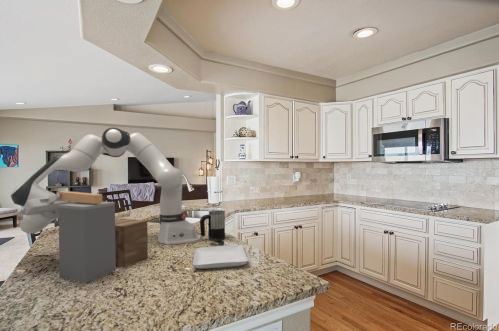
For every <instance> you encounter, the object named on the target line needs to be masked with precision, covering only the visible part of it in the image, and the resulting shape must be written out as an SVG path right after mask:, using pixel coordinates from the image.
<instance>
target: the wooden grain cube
mask: <svg viewBox="0 0 499 331" xmlns="http://www.w3.org/2000/svg"><path fill="white" fill-rule="evenodd" d="M148 243H149V241H148V220H145V219H144V220H143V219H133V218H121V219H115V249H116V265H118V266H117V267H121V266H123V267H122V268H126V267H128V265H129V266H131V265H133V264H135V263H136V264H137V263H138V262H141V261H142V260H143V261H144V260H145V259H148V258H149V254H148V250H149V248H148Z"/></svg>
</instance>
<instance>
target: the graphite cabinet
mask: <svg viewBox="0 0 499 331" xmlns="http://www.w3.org/2000/svg"><path fill="white" fill-rule="evenodd" d="M115 220H116V202H114V201H113V202H112V201H102V203H97V204H92V203H83V202H78V203H71V204H63V205H59V218H58V246H59V247H58V254H59V255H58V263H59V265H58V267H59V269H58V270H59V271H58V273H59V274H58V275H59V278H61V277H62V278H61V279H64V278H67V279H66V280H68V279H71V280H70V281H72V280H75V281H74V282H76V281H79V282H78V283H80V282H83V283H82V284H84V283H86V282H88V283H90V282H92V281H91V280H93V281H95V280H97V279H96V278H98V279H100V278H102V277H104V276H103V275H105V276H107V275H109V274H108V273H110V274H112V273H114V272H116V271H117V268H116V267H117V266H116V249H115ZM115 270H116V271H115ZM113 271H114V272H113ZM111 272H112V273H111ZM106 274H107V275H106ZM101 276H102V277H101ZM99 277H100V278H99ZM94 279H95V280H94ZM89 281H90V282H89ZM86 284H87V283H86Z"/></svg>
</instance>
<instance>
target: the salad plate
mask: <svg viewBox="0 0 499 331" xmlns="http://www.w3.org/2000/svg"><path fill="white" fill-rule="evenodd" d="M193 256H194V257H193V260H192V266H193V267H194V268H195V269H201V270H206V269H207V270H208V269H220V268H234V267H241V266H243V265H246V264H247V263H249V258H248V256H247V254H246V252H245V250H244V246H243V244H236V245H235V244H233V245H218V246H217V245H216V246H207V247H196V248H195V249H194V255H193Z"/></svg>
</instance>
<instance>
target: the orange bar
mask: <svg viewBox="0 0 499 331" xmlns="http://www.w3.org/2000/svg"><path fill="white" fill-rule="evenodd" d="M58 193H61V194H62V198H61V199H58V200H66V201H75V202H83V203H92V204H97V203H102V202H103V194H102V193H90V192H81V191H79V192H78V191H69V190H62V191H61V190H59V191H56V194H58Z"/></svg>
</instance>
